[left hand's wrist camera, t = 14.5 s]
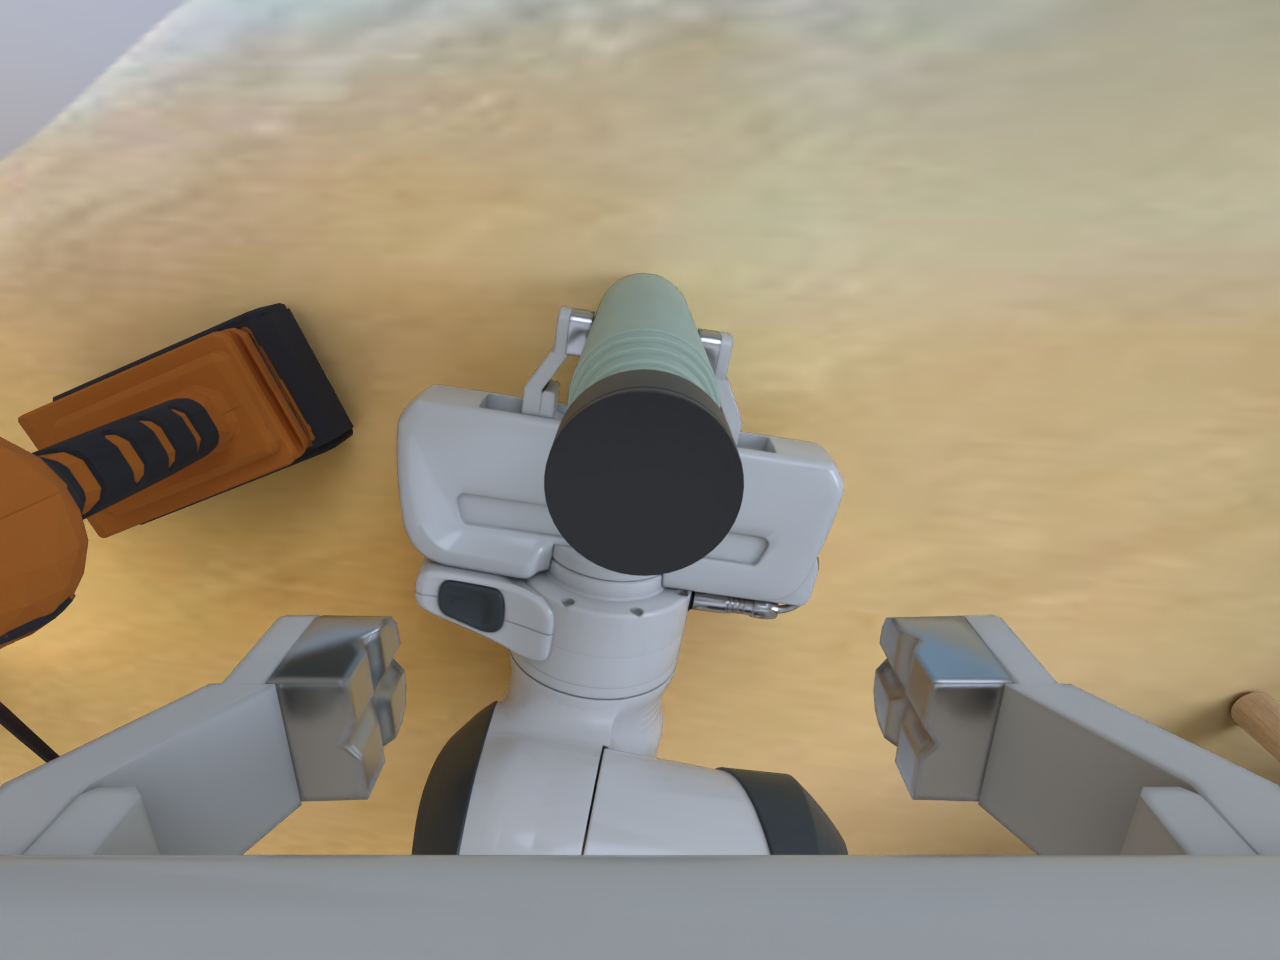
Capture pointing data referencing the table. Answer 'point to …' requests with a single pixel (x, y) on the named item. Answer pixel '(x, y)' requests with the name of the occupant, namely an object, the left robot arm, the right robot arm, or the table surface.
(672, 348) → the bottle
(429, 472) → the right robot arm
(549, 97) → the table surface
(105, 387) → the power drill
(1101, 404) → the table surface
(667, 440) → the cap
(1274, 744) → the planter
